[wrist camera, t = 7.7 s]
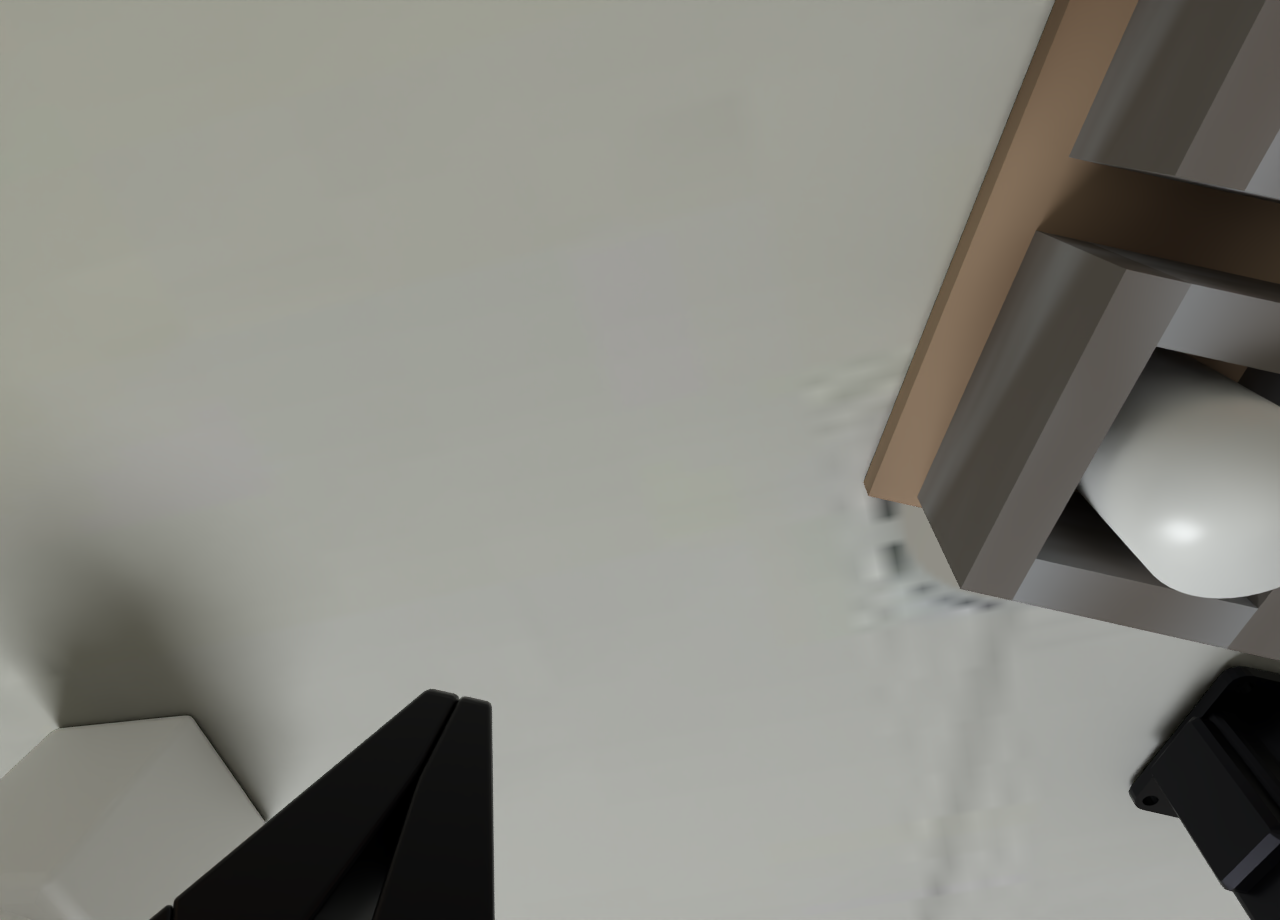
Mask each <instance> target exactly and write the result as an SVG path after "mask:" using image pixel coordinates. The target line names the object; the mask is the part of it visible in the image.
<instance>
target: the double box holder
mask: <svg viewBox="0 0 1280 920" xmlns="http://www.w3.org/2000/svg"><path fill="white" fill-rule="evenodd" d="M1156 347H1161V348H1165V349H1170V350H1175V351H1179V352H1183V353H1185V354H1187V355H1189V356H1190V357H1192V358H1194V359H1196V360H1198V361H1199V362H1201V363H1203V364H1205V365H1206V366H1208V367H1210V368H1212V369H1214V370H1215V371H1217V372H1219V373H1221V374H1223V375H1224V376H1226V377H1228V378H1230V379H1231V380H1233V381H1235V382H1237V383H1239V384H1240V385H1242V386H1244V387H1246V388H1248V389H1249V390H1251V391H1253V392H1255V393H1256V394H1258V395H1260V396H1262V397H1264V398H1265V399H1267V400H1269V401H1271V402H1273V403H1274V404H1276V405H1278V406H1280V0H1056V1H1055V3H1054V6H1053V8H1052V11H1051V13H1050V16H1049V18H1048V21H1047V23H1046V26H1045V28H1044V31H1043V33H1042V36H1041V38H1040V41H1039V43H1038V46H1037V48H1036V51H1035V53H1034V56H1033V58H1032V61H1031V63H1030V66H1029V68H1028V71H1027V73H1026V76H1025V78H1024V81H1023V83H1022V86H1021V88H1020V91H1019V93H1018V96H1017V98H1016V101H1015V103H1014V106H1013V108H1012V111H1011V113H1010V116H1009V119H1008V121H1007V124H1006V126H1005V129H1004V131H1003V134H1002V136H1001V139H1000V141H999V144H998V146H997V149H996V151H995V154H994V156H993V159H992V161H991V164H990V166H989V169H988V171H987V174H986V176H985V179H984V181H983V184H982V186H981V189H980V191H979V194H978V196H977V199H976V201H975V204H974V206H973V209H972V211H971V214H970V216H969V219H968V221H967V224H966V226H965V229H964V231H963V234H962V236H961V239H960V241H959V244H958V247H957V249H956V252H955V254H954V257H953V259H952V262H951V264H950V267H949V269H948V272H947V274H946V277H945V279H944V282H943V284H942V287H941V289H940V292H939V294H938V297H937V299H936V302H935V304H934V307H933V309H932V312H931V314H930V317H929V319H928V322H927V324H926V327H925V329H924V332H923V334H922V337H921V339H920V342H919V344H918V347H917V349H916V352H915V354H914V357H913V359H912V362H911V364H910V367H909V369H908V372H907V374H906V377H905V380H904V382H903V385H902V387H901V390H900V392H899V395H898V397H897V400H896V402H895V405H894V407H893V410H892V412H891V415H890V417H889V420H888V422H887V425H886V427H885V430H884V432H883V435H882V437H881V440H880V442H879V445H878V447H877V450H876V452H875V455H874V457H873V460H872V462H871V465H870V467H869V470H868V472H867V475H866V477H865V480H864V485H865V488H866V490H867V493H868V496H871V497H876V498H880V499H885V500H889V501H894V502H898V503H903V504H907V505H912V506H916V507H921V508H923V510H924V513H925V515H926V517H927V519H928V521H929V523H930V525H931V527H932V529H933V531H934V533H935V536H936V538H937V540H938V542H939V544H940V546H941V548H942V551H943V553H944V555H945V557H946V559H947V561H948V563H949V565H950V567H951V569H952V572H953V574H954V576H955V578H956V580H957V582H958V584H959V586H960V589H963V590H968V591H972V592H976V593H981V594H985V595H990V596H994V597H999V598H1003V599H1008V600H1012V601H1016V602H1021V603H1025V604H1030V605H1034V606H1039V607H1043V608H1048V609H1052V610H1056V611H1061V612H1065V613H1070V614H1074V615H1079V616H1083V617H1088V618H1092V619H1097V620H1101V621H1105V622H1110V623H1114V624H1119V625H1123V626H1128V627H1132V628H1137V629H1141V630H1145V631H1150V632H1154V633H1159V634H1163V635H1168V636H1172V637H1177V638H1181V639H1185V640H1190V641H1194V642H1199V643H1203V644H1208V645H1212V646H1217V647H1221V648H1226V649H1230V650H1234V651H1239V652H1243V653H1248V654H1252V655H1257V656H1261V657H1266V658H1270V659H1274V660H1279V659H1280V587H1278V588H1276V589H1273V590H1269V591H1266V592H1263V593H1259V594H1254V595H1250V596H1244V597H1236V598H1204V597H1198V596H1192V595H1189V594H1185V593H1182V592H1179V591H1177V590H1175V589H1172V588H1170V587H1168V586H1167V585H1165V584H1164V583H1162V582H1161V581H1159V580H1158V579H1157V578H1156V577H1155V576H1153V575H1152V573H1151V572H1150V571H1149V570H1148V569H1147V568H1146V567H1145V566H1144V564H1143V563H1142V562H1141V561H1140V560H1139V559H1138V558H1137V557H1136V555H1135V554H1134V553H1133V552H1132V551H1131V550H1130V549H1129V548H1128V546H1127V545H1126V544H1125V543H1124V542H1123V541H1122V540H1121V539H1120V537H1119V536H1118V535H1117V534H1116V533H1115V532H1114V531H1113V530H1112V528H1111V527H1110V526H1109V525H1108V524H1107V523H1106V522H1105V521H1104V519H1103V518H1102V517H1101V516H1100V515H1099V514H1098V513H1097V512H1096V510H1095V509H1094V508H1093V507H1092V506H1091V505H1090V504H1089V503H1088V501H1087V500H1086V499H1085V498H1084V497H1083V496H1082V495H1081V494H1080V493H1079V491H1078V490H1077V489H1076V487H1077V485H1078V483H1079V482H1080V480H1081V478H1082V476H1083V475H1084V473H1085V471H1086V469H1087V468H1088V466H1089V464H1090V462H1091V461H1092V459H1093V457H1094V455H1095V453H1096V452H1097V450H1098V448H1099V446H1100V445H1101V443H1102V441H1103V439H1104V438H1105V436H1106V434H1107V432H1108V431H1109V429H1110V427H1111V425H1112V424H1113V422H1114V420H1115V418H1116V417H1117V415H1118V413H1119V411H1120V409H1121V408H1122V406H1123V404H1124V402H1125V401H1126V399H1127V397H1128V395H1129V394H1130V392H1131V390H1132V388H1133V387H1134V385H1135V383H1136V381H1137V380H1138V378H1139V376H1140V374H1141V372H1142V371H1143V369H1144V367H1145V365H1146V364H1147V362H1148V360H1149V358H1150V357H1151V355H1152V353H1153V351H1154V350H1155V348H1156Z"/></svg>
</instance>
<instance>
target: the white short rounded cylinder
mask: <svg viewBox="0 0 1280 920" xmlns="http://www.w3.org/2000/svg"><path fill="white" fill-rule="evenodd" d="M1076 489H1077V490H1078V491H1079V493H1080V494H1081V495H1082V496H1083V497H1084V498H1085V499H1086V500H1087V501H1088V503H1089V504H1090V505H1091V506H1092V507H1093V508H1094V509H1095V510H1096V512H1097V513H1098V514H1099V515H1100V516H1101V517H1102V518H1103V519H1104V521H1105V522H1106V523H1107V524H1108V525H1109V526H1110V527H1111V528H1112V530H1113V531H1114V532H1115V533H1116V534H1117V535H1118V536H1119V537H1120V539H1121V540H1122V541H1123V542H1124V543H1125V544H1126V545H1127V546H1128V548H1129V549H1130V550H1131V551H1132V552H1133V553H1134V554H1135V555H1136V557H1137V558H1138V559H1139V560H1140V561H1141V562H1142V563H1143V564H1144V566H1145V567H1146V568H1147V569H1148V570H1149V571H1150V572H1151V573H1152V575H1153V576H1155V577H1156V578H1157V579H1158V580H1159V581H1161V582H1162V583H1164V584H1165V585H1167V586H1168V587H1170V588H1172V589H1175V590H1177V591H1179V592H1182V593H1185V594H1189V595H1192V596H1198V597H1204V598H1236V597H1244V596H1250V595H1254V594H1259V593H1263V592H1266V591H1269V590H1273V589H1276V588H1278V587H1280V406H1278V405H1276V404H1274V403H1273V402H1271V401H1269V400H1267V399H1265V398H1264V397H1262V396H1260V395H1258V394H1256V393H1255V392H1253V391H1251V390H1249V389H1248V388H1246V387H1244V386H1242V385H1240V384H1239V383H1237V382H1235V381H1233V380H1231V379H1230V378H1228V377H1226V376H1224V375H1223V374H1221V373H1219V372H1217V371H1215V370H1214V369H1212V368H1210V367H1208V366H1206V365H1205V364H1203V363H1201V362H1199V361H1198V360H1196V359H1194V358H1192V357H1190V356H1189V355H1187V354H1185V353H1183V352H1179V351H1175V350H1170V349H1165V348H1161V347H1156V348H1155V350H1154V351H1153V353H1152V355H1151V357H1150V358H1149V360H1148V362H1147V364H1146V365H1145V367H1144V369H1143V371H1142V372H1141V374H1140V376H1139V378H1138V380H1137V381H1136V383H1135V385H1134V387H1133V388H1132V390H1131V392H1130V394H1129V395H1128V397H1127V399H1126V401H1125V402H1124V404H1123V406H1122V408H1121V409H1120V411H1119V413H1118V415H1117V417H1116V418H1115V420H1114V422H1113V424H1112V425H1111V427H1110V429H1109V431H1108V432H1107V434H1106V436H1105V438H1104V439H1103V441H1102V443H1101V445H1100V446H1099V448H1098V450H1097V452H1096V453H1095V455H1094V457H1093V459H1092V461H1091V462H1090V464H1089V466H1088V468H1087V469H1086V471H1085V473H1084V475H1083V476H1082V478H1081V480H1080V482H1079V483H1078V485H1077V487H1076Z"/></svg>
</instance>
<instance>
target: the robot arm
mask: <svg viewBox="0 0 1280 920" xmlns="http://www.w3.org/2000/svg"><path fill="white" fill-rule="evenodd" d="M1129 795H1130V797H1131V798H1132V800H1133V802H1134V804H1135V805H1136V806H1137V807H1138V808H1140V809H1142V810H1146V811H1151V812H1155V813H1159V814H1164V815H1168V816H1173V817H1177V818H1179V819H1180V820H1181V822H1182V823H1183V825H1184V827H1185V828H1186V830H1187V831H1188V833H1189V835H1190V836H1191V838H1192V839H1193V841H1194V843H1195V844H1196V846H1197V847H1198V849H1199V850H1200V852H1201V854H1202V855H1203V857H1204V858H1205V860H1206V862H1207V863H1208V865H1209V866H1210V868H1211V870H1212V871H1213V873H1214V874H1215V876H1216V878H1217V879H1218V881H1219V882H1220V884H1221V885H1222V886H1223V887H1224V889H1226V890H1229V891H1233V893H1234V894H1235V896H1236V897H1237V899H1238V901H1239V902H1240V904H1241V905H1242V907H1243V908H1244V910H1245V912H1246V913H1247V915H1248V916H1249V918H1250V919H1251V920H1280V675H1279V674H1275V673H1271V672H1266V671H1262V670H1257V669H1253V668H1248V667H1240V666H1238V667H1233V668H1230V669H1228V670H1226V671H1224V672H1223V673H1222V674H1221V675H1220V676H1219V677H1218V679H1217V680H1216V681H1215V682H1214V684H1213V685H1212V686H1211V687H1210V689H1209V690H1208V691H1207V692H1206V694H1205V695H1204V696H1203V697H1202V699H1201V700H1200V701H1199V702H1198V704H1197V705H1196V706H1195V707H1194V709H1193V710H1192V711H1191V712H1190V714H1189V715H1188V716H1187V717H1186V719H1185V720H1184V721H1183V722H1182V724H1181V725H1180V726H1179V727H1178V729H1177V730H1176V731H1175V732H1174V734H1173V735H1172V736H1171V737H1170V739H1169V740H1168V741H1167V742H1166V744H1165V745H1164V746H1163V747H1162V749H1161V750H1160V751H1159V752H1158V754H1157V755H1156V756H1155V757H1154V759H1153V760H1152V761H1151V762H1150V764H1149V765H1148V766H1147V767H1146V769H1145V770H1144V771H1143V772H1142V774H1141V775H1140V776H1139V777H1138V779H1137V780H1136V781H1135V782H1134V784H1133V785H1132V786H1131V787H1130V790H1129ZM149 920H495V911H494V833H493V755H492V706H491V704H490V703H489V702H488V701H484V700H480V699H475V698H471V697H461V698H460V699H459V697H458V696H457V695H456V694H453V693H449V692H444V691H440V690H436V689H429V690H426V691H424V692H423V693H422V694H421V695H419V696H418V697H417V698H416V699H415V700H413V701H412V702H411V703H410V704H409V705H407V706H406V707H405V708H404V709H403V710H401V711H400V712H399V713H398V714H397V715H395V716H394V717H393V718H392V719H391V720H389V721H388V722H387V723H386V724H385V725H383V726H382V727H381V728H380V729H379V730H377V731H376V732H375V733H374V734H373V735H371V736H370V737H369V738H368V739H366V740H365V741H364V742H363V743H362V744H360V745H359V746H358V747H357V748H356V749H354V750H353V751H352V752H351V753H350V754H348V755H347V756H346V757H345V758H344V759H342V760H341V761H340V762H339V763H338V764H336V765H335V766H334V767H333V768H332V769H330V770H329V771H328V772H327V773H326V774H324V775H323V776H322V777H321V778H320V779H318V780H317V781H316V782H315V783H313V784H312V785H311V786H310V787H309V788H307V789H306V790H305V791H304V792H303V793H301V794H300V795H299V796H298V797H297V798H295V799H294V800H293V801H292V802H291V803H289V804H288V805H287V806H286V807H285V808H283V809H282V810H281V811H280V812H279V813H277V814H276V815H275V816H274V817H273V818H271V819H270V820H269V821H268V822H267V823H265V824H264V825H263V826H262V827H260V828H259V829H258V830H257V831H256V832H254V833H253V834H252V835H251V836H250V837H248V838H247V839H246V840H245V841H244V842H242V843H241V844H240V845H239V846H238V847H236V848H235V849H234V850H233V851H232V852H230V853H229V854H228V855H227V856H226V857H224V858H223V859H222V860H221V861H220V862H218V863H217V864H216V865H215V866H214V867H212V868H211V869H210V870H209V871H208V872H206V873H205V874H204V875H203V876H201V877H200V878H199V879H198V880H197V881H195V882H194V883H193V884H192V885H191V886H189V887H188V888H187V889H186V890H185V891H183V892H182V893H181V894H180V895H179V896H177V897H176V898H175V900H174V902H173V906H172V905H166V906H165V907H164V908H162V909H161V910H160V911H159V912H158V913H156V914H155V915H154V916H153V917H152V918H150V919H149Z"/></svg>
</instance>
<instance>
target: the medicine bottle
mask: <svg viewBox="0 0 1280 920" xmlns="http://www.w3.org/2000/svg"><path fill="white" fill-rule="evenodd" d="M264 824H265V821H264V820H263V818H262V817H261V815H260V814H259V812H258V811H257V809H256V808H255V807H254V805H253V804H252V802H251V801H250V799H249V798H248V797H247V795H246V794H245V792H244V791H243V789H242V788H241V786H240V785H239V784H238V782H237V781H236V779H235V778H234V776H233V775H232V773H231V772H230V771H229V769H228V768H227V766H226V765H225V763H224V762H223V761H222V759H221V758H220V756H219V755H218V753H217V752H216V750H215V749H214V748H213V746H212V745H211V743H210V742H209V740H208V739H207V737H206V736H205V735H204V733H203V732H202V730H201V729H200V727H199V726H198V725H197V723H196V722H195V720H194V719H193V718H192V717H191V716H188V715H186V716H174V717H165V718H155V719H145V720H135V721H126V722H116V723H106V724H96V725H87V726H77V727H67V728H58V729H56V730H54V731H52V732H51V733H50V734H48V735H47V736H46V737H45V738H44V739H43V740H42V741H41V742H40V743H39V744H38V745H37V746H36V747H35V748H34V749H32V750H31V751H30V752H29V753H28V754H27V755H26V756H25V757H24V758H23V759H22V760H21V761H20V762H19V763H18V764H16V765H15V766H14V767H13V768H12V769H11V770H10V771H9V772H8V773H7V774H6V775H5V776H4V777H3V778H2V779H0V920H149V919H150V918H152V917H153V916H154V915H155V914H156V913H158V912H159V911H160V910H161V909H162V908H164V907H165V906H166V905H172V906H173V902H174V900H175V898H176V897H177V896H179V895H180V894H181V893H182V892H183V891H185V890H186V889H187V888H188V887H189V886H191V885H192V884H193V883H194V882H195V881H197V880H198V879H199V878H200V877H201V876H203V875H204V874H205V873H206V872H208V871H209V870H210V869H211V868H212V867H214V866H215V865H216V864H217V863H218V862H220V861H221V860H222V859H223V858H224V857H226V856H227V855H228V854H229V853H230V852H232V851H233V850H234V849H235V848H236V847H238V846H239V845H240V844H241V843H242V842H244V841H245V840H246V839H247V838H248V837H250V836H251V835H252V834H253V833H254V832H256V831H257V830H258V829H259V828H260V827H262V826H263V825H264Z"/></svg>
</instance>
